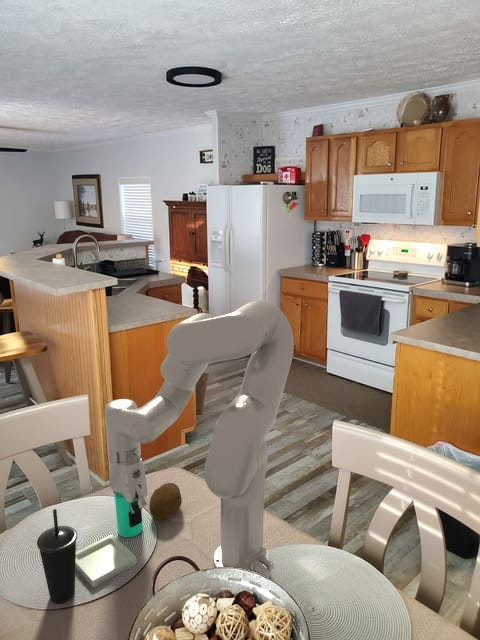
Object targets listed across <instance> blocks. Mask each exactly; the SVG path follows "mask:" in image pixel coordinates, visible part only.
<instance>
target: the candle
mask: <svg viewBox="0 0 480 640" xmlns="http://www.w3.org/2000/svg"><path fill="white" fill-rule="evenodd" d="M135 498H136V495H135ZM133 499H134V498H133ZM114 502H115V513H116V515H115V517H116V527H117V533H118V534H119V536H121V537H124V538H132V537H135V536H137V535H139V534H140V533H141V532H142V531H143V521H142V522H141V523H140V524H138V525H136V526H134V527H130V525H129V512H130V508H129V502H128V501H126V500H125V498H124V497H121V496H119V495H118V494H117V493H116V492H115V494H114ZM136 504H137V501H135V502H133V507H134V506H135V505H136ZM141 512H143V511H142V510H141Z"/></svg>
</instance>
